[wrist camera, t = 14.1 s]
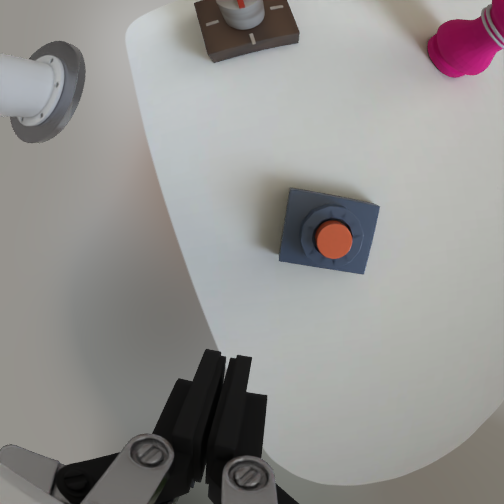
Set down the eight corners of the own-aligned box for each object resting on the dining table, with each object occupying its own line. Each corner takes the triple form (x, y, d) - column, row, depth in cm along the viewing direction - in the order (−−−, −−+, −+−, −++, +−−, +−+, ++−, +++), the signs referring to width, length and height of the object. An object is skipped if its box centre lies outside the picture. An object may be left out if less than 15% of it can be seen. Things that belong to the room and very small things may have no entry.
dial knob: (220, 5, 23) (210, -18, 18) (259, -4, 23) (255, -28, 18) (228, 34, 25) (218, 13, 20) (269, 25, 24) (266, 2, 19)
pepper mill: (448, 28, 23) (534, -26, 4) (475, 74, 24) (577, 45, 5) (413, 38, 24) (501, -31, 5) (443, 87, 26) (553, 52, 7)
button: (312, 250, 30) (313, 256, 29) (318, 217, 29) (320, 220, 28) (344, 256, 30) (347, 261, 29) (351, 223, 29) (355, 227, 27)
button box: (278, 255, 35) (278, 266, 31) (290, 187, 32) (291, 191, 28) (359, 268, 34) (367, 280, 30) (374, 203, 32) (385, 209, 28)
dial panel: (214, 65, 29) (208, 56, 26) (199, 11, 26) (192, 0, 23) (299, 45, 27) (300, 34, 24) (278, -8, 25) (278, -21, 22)
